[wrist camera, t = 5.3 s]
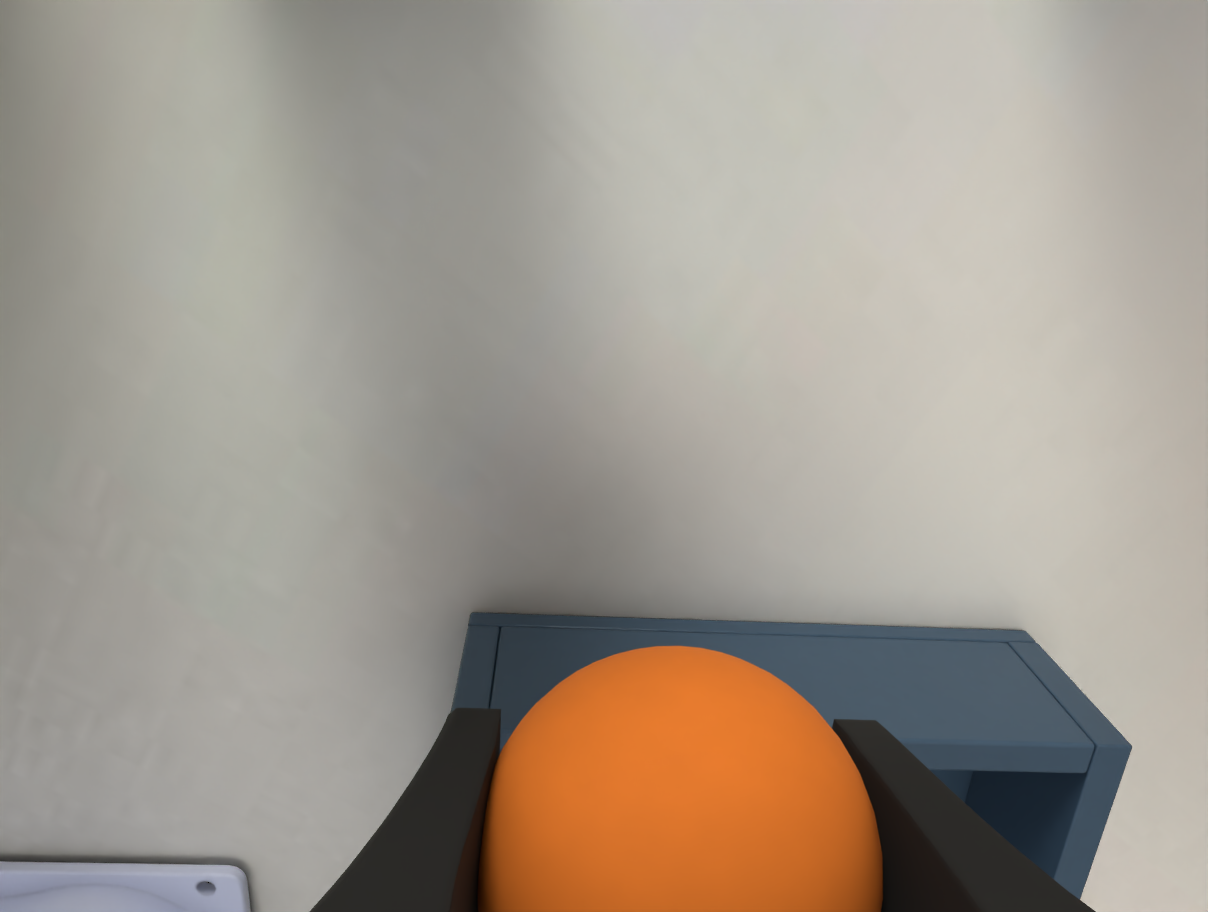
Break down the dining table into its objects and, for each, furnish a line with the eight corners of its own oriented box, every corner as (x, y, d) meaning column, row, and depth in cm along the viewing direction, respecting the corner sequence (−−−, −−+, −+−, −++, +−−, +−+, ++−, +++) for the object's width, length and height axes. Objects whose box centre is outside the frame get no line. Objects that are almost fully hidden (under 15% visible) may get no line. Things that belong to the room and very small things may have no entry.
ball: (488, 843, 14) (447, 1207, 9) (494, 568, 12) (447, 845, 7) (793, 850, 14) (904, 1207, 9) (842, 584, 12) (1009, 857, 8)
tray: (467, 1015, 27) (447, 1183, 23) (470, 611, 22) (446, 728, 17) (920, 1018, 28) (984, 1180, 23) (1026, 629, 23) (1133, 746, 18)
